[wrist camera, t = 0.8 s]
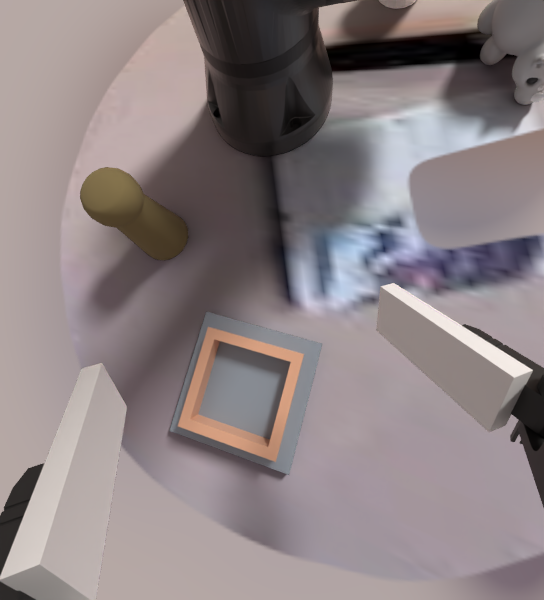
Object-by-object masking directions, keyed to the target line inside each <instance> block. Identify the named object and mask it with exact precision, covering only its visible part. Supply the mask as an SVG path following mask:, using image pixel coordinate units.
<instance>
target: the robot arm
mask: <svg viewBox="0 0 544 600" xmlns="http://www.w3.org/2000/svg"><path fill="white" fill-rule="evenodd" d="M183 1H184V4H185V7H186V9H187V12H188V14H189V17H190V20H191V22H192V25H193V28H194V30H195V33H196V35H197V38H198V40H199V43H200V46H201V48H202V51H203V54H204V60H205V75H206V90H207V102H208V107H209V111H210V114H211V117H212V119H213V121H214V123H215V126H216V128H217V130H218V132H219V134H220V135H221V136H222V138H223V139H224V140H225V141H226V142H227V143H228V144H229V145H231V146H232V147H234V148H235V149H237V150H239V151H242V152H244V153H247V154H252V155H258V156H270V155H277V154H281V153H285V152H288V151H290V150H293V149H295V148H297V147H299V146H300V145H302V144H304V143H305V142H307V141H308V140H309V139H310V138H311V137H312V136H314V135H315V134H316V132H317V131H318V130H319V129H320V128H321V126H322V125H323V123H324V122H325V120H326V118H327V116H328V113H329V110H330V106H331V101H332V87H333V78H332V70H331V66H330V62H329V59H328V55H327V52H326V48H325V45H324V41H323V38H322V35H321V31H320V28H319V24H318V17H319V7H323V6H328V5H333V4H338V3H345V2H351V1H357V0H183ZM376 330H377V331H378V332H379V333H380V334H381V335H382V336H383V337H384V338H386V339H387V340H388V341H389V342H390V343H391V344H392V345H393V346H394V347H395V348H397V349H398V350H399V351H400V352H401V353H402V354H403V355H404V356H405V357H406V358H408V359H409V360H410V361H411V362H412V363H413V364H414V365H415V366H416V367H418V368H419V369H420V370H421V371H422V372H423V373H424V374H425V375H426V376H427V377H429V378H430V379H431V380H432V381H433V382H434V383H435V384H436V385H437V386H438V387H440V388H441V389H442V390H443V391H444V392H445V393H446V394H447V395H448V396H450V397H451V398H452V399H453V400H454V401H455V402H456V403H457V404H458V405H459V406H461V407H462V408H463V409H464V410H465V411H466V412H467V413H468V414H469V415H470V416H472V417H473V418H474V419H475V420H476V421H477V422H478V423H479V424H480V425H482V426H483V427H484V428H485V429H486V430H487V431H488V432H491V431H493V430H496V429H498V428H500V427H503V426H505V425H506V424H507V422H508V420H509V418H510V416H511V414H512V415H513V416H515V417H516V418H517V419H519V421H518V423H517V424H516V426H515V428H514V430H513V432H512V434H511V436H510V438H511V441H512V442H515V440H516V438H517V436H518V435H519V434H520V437H521V441H520V444H523V446H524V449H525V452H526V455H527V458H528V461H529V464H530V467H531V470H532V474H533V477H534V480H535V483H536V486H537V489H538V492H539V495H540V498H541V501H542V504H543V507H544V368H543V367H541V366H539V365H538V364H536V363H534V362H533V361H531V360H529V359H528V358H526V357H524V356H523V355H521V354H519V353H518V352H516V351H514V350H513V349H511V348H509V347H508V346H506V345H503V344H502V343H501V342H499V341H498V340H496V339H493V338H492V337H491V336H490V335H488V334H486V333H485V332H483V331H481V330H479V329H477V328H474V327H471V326H468V325H466V324H464V325H460V324H458V323H457V322H455V321H454V320H452V319H450V318H449V317H447V316H446V315H444V314H442V313H441V312H439V311H438V310H436V309H434V308H433V307H431V306H430V305H428V304H426V303H425V302H423V301H422V300H420V299H418V298H417V297H415V296H414V295H412V294H410V293H409V292H407V291H406V290H404V289H402V288H401V287H399V286H398V285H396V284H394V283H392V284H388V285H385V286H381V287H380V298H379V308H378V318H377V329H376ZM126 411H127V406H126V404H125V402H124V401H123V399H122V397H121V395H120V394H119V392H118V390H117V388H116V387H115V385H114V383H113V381H112V380H111V378H110V376H109V374H108V373H107V371H106V369H105V367H104V366H103V364H102V363H100V364H96V365H92V366H89V367H85V368H82V369H81V371H80V374H79V377H78V379H77V382H76V384H75V387H74V389H73V392H72V394H71V397H70V399H69V402H68V405H67V407H66V410H65V412H64V415H63V417H62V420H61V422H60V425H59V428H58V430H57V433H56V435H55V438H54V441H53V443H52V445H51V448H50V451H49V453H48V456H47V458H46V461H45V463H44V464H40V465H37V466H34V467H32V468H28V469H27V471H26V472H25V473H24V475H23V476H22V477H21V478H20V480H19V481H18V482H17V483H16V485H15V486H14V487H13V489H12V491H11V493H10V496H9V498H8V500H7V502H6V504H5V506H4V512H2V513H1V515H0V600H96V596H97V590H98V584H99V578H100V572H101V566H102V559H103V553H104V547H105V541H106V535H107V528H108V522H109V516H110V510H111V504H112V497H113V491H114V485H115V479H116V473H117V467H118V461H119V454H120V448H121V442H122V436H123V430H124V424H125V418H126Z"/></svg>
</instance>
